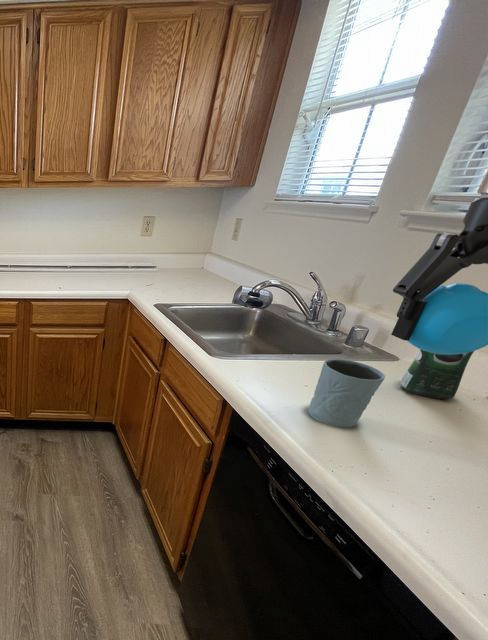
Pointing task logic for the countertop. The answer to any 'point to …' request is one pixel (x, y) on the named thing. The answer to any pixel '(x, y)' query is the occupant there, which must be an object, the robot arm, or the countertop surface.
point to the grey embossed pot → (344, 392)
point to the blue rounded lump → (453, 320)
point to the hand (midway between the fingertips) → (439, 338)
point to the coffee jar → (435, 374)
